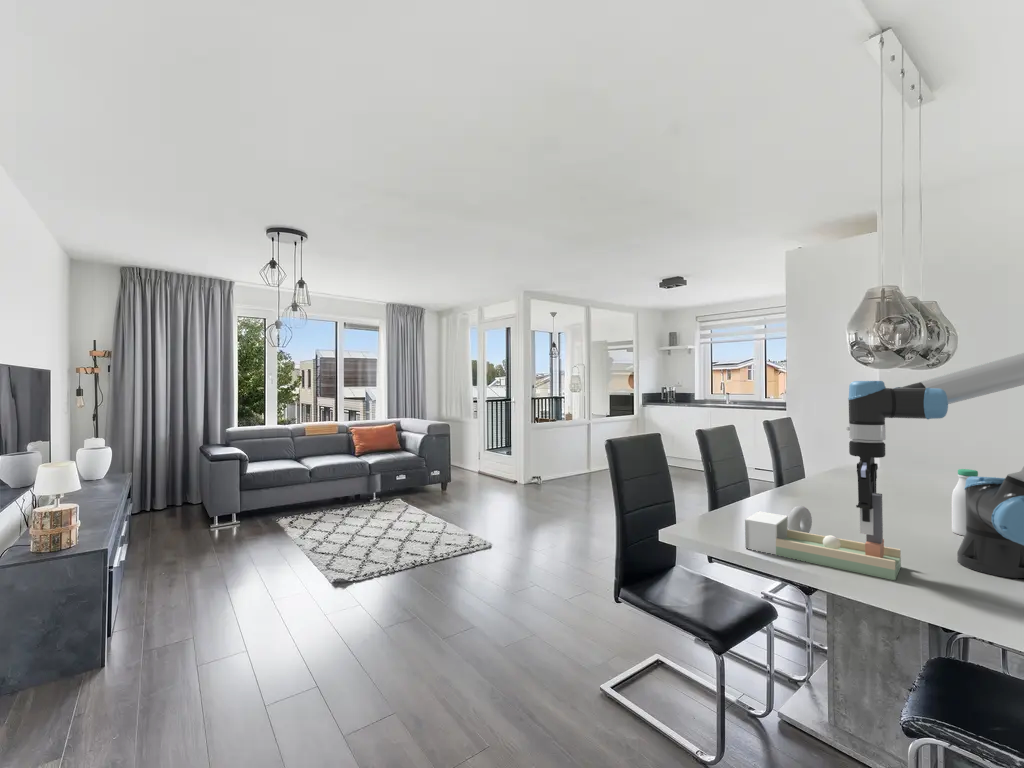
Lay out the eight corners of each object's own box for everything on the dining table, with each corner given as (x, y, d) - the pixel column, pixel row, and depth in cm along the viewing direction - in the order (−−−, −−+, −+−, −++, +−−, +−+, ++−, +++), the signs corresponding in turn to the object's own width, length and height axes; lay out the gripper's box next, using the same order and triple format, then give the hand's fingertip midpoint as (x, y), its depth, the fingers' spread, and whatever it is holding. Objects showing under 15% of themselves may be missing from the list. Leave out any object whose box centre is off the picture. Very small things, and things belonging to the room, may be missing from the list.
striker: (884, 554, 126) (883, 492, 126) (880, 561, 121) (879, 497, 121) (869, 552, 128) (869, 490, 128) (865, 559, 123) (864, 495, 123)
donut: (796, 542, 146) (796, 509, 146) (785, 539, 149) (784, 506, 149) (814, 537, 151) (814, 504, 151) (802, 534, 154) (802, 502, 154)
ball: (842, 550, 131) (841, 535, 131) (838, 554, 128) (838, 538, 128) (824, 547, 134) (824, 532, 134) (821, 550, 131) (821, 535, 131)
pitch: (900, 566, 126) (900, 533, 126) (895, 580, 117) (894, 544, 117) (758, 539, 149) (758, 511, 149) (745, 548, 141) (745, 519, 141)
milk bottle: (956, 536, 151) (955, 471, 151) (948, 529, 157) (947, 467, 157) (990, 539, 147) (989, 472, 147) (980, 532, 154) (979, 468, 154)
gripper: (854, 437, 134) (856, 522, 134) (843, 442, 123) (844, 536, 123) (889, 439, 129) (890, 528, 129) (880, 444, 117) (881, 542, 117)
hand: (868, 532), depth 126 cm, fingers closed on striker, 3 cm apart
